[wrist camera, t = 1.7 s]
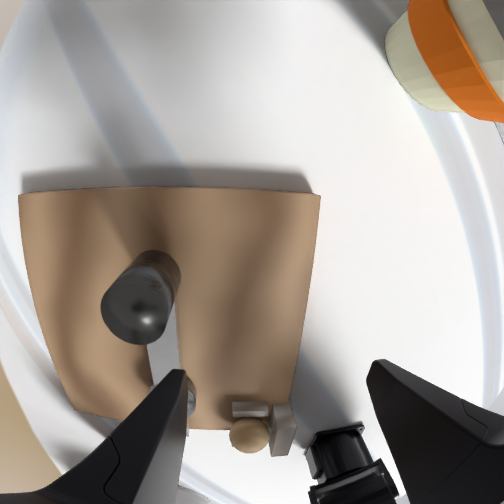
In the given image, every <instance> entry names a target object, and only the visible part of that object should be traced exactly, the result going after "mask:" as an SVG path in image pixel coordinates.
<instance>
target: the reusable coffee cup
mask: <svg viewBox="0 0 504 504" xmlns="http://www.w3.org/2000/svg"><path fill="white" fill-rule="evenodd" d="M385 50H386V56H387V59H388V62H389V65H390V67H391V69H392V71H393V73H394V75H395V77H396V78H397V80H398V82H399V83H400V85H401V86H402V87H403V88H404V90H405V91H406V92H407V93H408V94H409V95H410V96H411V97H412V98H413V99H414V100H415V101H416V102H418V103H419V104H420V105H422V106H424V107H426V108H427V109H430V110H433V111H441V112H459V113H467V114H468V115H470V116H472V117H474V118H476V119H479V120H486V121H493V122H500V123H504V0H410V1H409V5H408V9H407V10H406V11H405V12H404V13H403V15H402V16H401V17H400V18H399V19H398V20H397V21H396V22H395V23H394V24H393V25H392V26H391V27H390V28H389V30H388V31H387V34H386V37H385Z"/></svg>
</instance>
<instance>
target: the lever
mask: <svg viewBox="0 0 504 504" xmlns="http://www.w3.org/2000/svg"><path fill="white" fill-rule="evenodd" d="M180 284H181V272H180V268H179V266H178V264H177V263H176V261H175V260H174V259H173V258H172V257H171V256H170V255H168V254H166V253H165V252H162V251H158V250H148V251H144V252H142V253H140V254H139V255H138V256H137V257H136V258H135V259H134V260H133V261H132V262H131V263H130V264H129V265H128V267H127V268H126V269H125V270H124V271H123V272H122V273H121V275H120V276H119V277H118V278H117V279H116V280H115V281H114V283H113V284H112V285H111V286H110V287H109V288H108V290H107V291H106V292H105V293H104V295H103V297H102V300H101V305H100V310H101V315H102V318H103V321H104V323H105V325H106V326H107V328H108V329H109V330H110V331H111V332H112V333H113V334H114V335H115V336H116V337H118V338H119V339H121V340H123V341H125V342H127V343H130V344H135V345H146V344H147V350H148V356H149V361H150V367H151V372H152V377H153V379H152V380H151V382H150V386H149V389H148V393H147V395H148V394H149V393H150V392H151V391H152V390H153V389H154V388H155V387H156V386H157V385H158V384H159V382H160V381H161V380H162V379H163V378H164V377H165V376H166V375H167V374H168V373H169V372H170V371H171V370H172V369H183V365H182V354H181V343H180V331H179V317H178V300H177V292H178V289H179V287H180ZM187 384H188V407H187V430H186V436H189V421H188V416H190V415H192V414H193V413H194V411H195V408H196V396H197V391H196V388H195V386H194V385H193V384H192V383H191V382H190V381H189V380H188V379H187Z"/></svg>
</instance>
